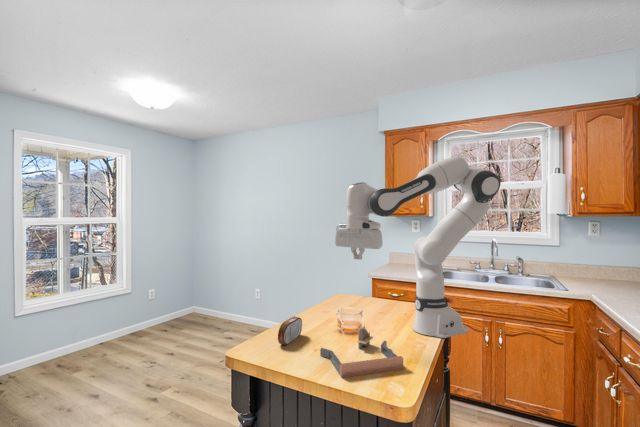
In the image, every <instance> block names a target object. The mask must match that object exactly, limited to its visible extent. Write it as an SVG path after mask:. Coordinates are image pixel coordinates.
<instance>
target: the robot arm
mask: <svg viewBox="0 0 640 427" xmlns="http://www.w3.org/2000/svg"><path fill="white" fill-rule="evenodd" d="M451 187H454V188H455V189H456V190H458V191H460V192H461V193H464V194H463V197H462V199H461V200H460V201H459V202H458V203H457V204H456V205H455V206H453V208H452V209H451V210H450V211H448V213H447V214H445V216H443V217H442V218H441V220H439V222H438V223H437V224H436V226H434V228H433V229H432V231H430V232H429V234H427V235H423V236H421V237H419V238H418V239H417V240H416V241H415V243H414V248H413V250H414V264H415V265H414V266H415V267H414V268H415V278H416V282H415V284H416V288H415V290H416V292H415V297H414V298H415V300H414V301H415V304H414V305H415V316H414V321H413V325H412V330H413V331H414V332H416V333H418V334H421V335H424V336H430V337H431V336H432V337H437V338H442V339H446V338H451V337H455V336H460V335H463V334H468V333H470V329H469V328H468V327H467V326H466V325H465V324H464V323H463V318H462V316H461V314H459V312H458V311H456V310H455V309H454V308H452V307H451V306H450V305H449V304H453V303H454V299H453V298H450V297H446V296H445V277H444V271H443V263H444V262H445V260H446V259H447V257H448V256H449V255H450V254H451V252H452V251H453V250H454V249H455V248H456V246H457V245H458V244H459V243H460V242H461V240H463V238H464V237H465V236H466V235H467V234H469V233H470V231H472V230H473V229H474V227H476V226H477V225H478V224H479V223H480V222H481V221H482V219H483V218H484V217H485V215H486V214H487V213H488V212H489V210H490V201H492V200H493V199H494V197H495V196H496V195H497V194H498V192H499V190H500V187H501V178H500V177H499V176H498V175H497V174H496V173H495V172H493V171H491V170H486V169H484V168H480V167H472V166H469V164H468V162H467V160H466V159H465V158H463V157H461V156H451V157H446V158H445V159H441V160H439V161H436V162H434V163H432V164H430V165H428V166H426V167H425V168H423V169H422V170H421V171H419V172H418V174H417V176H416V177H415V178H414V179H411V180H410V181H407V182H405V183H403V184H401V185H399V186H397V187H393V188H392V187H391V188H379V189H376V188H374V187H372V186H370V185H369V184H368V183H367V182H356V183H352V184H350V185H349V186H348V188H347V190H346V198H345V201H346V202H345V205H346V209H347V210H346V211H347V212H346V216H345V217H346V218H345V219H346V223H339V224H338V225H337V226H336V228H335V230H336V232H335V237H334V238H335V239H334V241H335V242H334V243H335V246H336V247H342V248H350V251H351V253H352V254H353V260H359V261H361V260H363V255H364V252H365V251H366V250H365V249H369V250H379V249H381V248H382V247H383V235H382V230H380V229H381V227H382V226H381V223H380V222H377V221H374V220H372V219H370V218H369V217H370V214H371V215H375V216H380V217H389V216H392V215H393V214H394V213H395V212H396V211H397V210H398V209H399V208H400V207H401V206H402V205H403V204H404V203H407V202H408V201H411V200H413V199H415V198H417V197H419V196H420V197H421V196H422V195H426V194H427V195H430V194H431V195H432V194H436V193H438V192H442V191H444V190H446V189H449V188H451ZM357 250H358V251H359V253H357Z"/></svg>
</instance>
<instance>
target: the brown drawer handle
mask: <svg viewBox="0 0 640 427" xmlns="http://www.w3.org/2000/svg"><path fill="white" fill-rule="evenodd" d="M387 345H388V341H387V340H383V341H382V343H381V345H380V353H381V354H383V356H384V357H383V358H376V359H368V360H360V361H351V362H343V363H342V362H341V360H340V359H339V358H338V356H337V355H336V354H335V352H334V351H333V350H330V349H328V348H324V347H321V348H320V349H319V350H320V353H319V354H320V357H322V358H326V359H329V361H330V363H331V364H332V365H333V367H334V369H335V370H336V372H337V373H338V375H339V377H340V378H341V379H342V378H343V379H344V378H350V377H357V376H365V375H371V374H379V373H386V372H393V371H399V370H404V357H402V356H401V355H399V356H398V355H397V354H396V353H395V352H394V351H392V350H391V349H390V348H389V347H388V346H387Z"/></svg>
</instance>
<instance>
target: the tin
mask: <svg viewBox="0 0 640 427" xmlns="http://www.w3.org/2000/svg"><path fill="white" fill-rule="evenodd" d="M302 330H303V320H302V318H301V317H298V316H295V315H294V316H292V317H290V318H288V319H286V320H284V321H283V322H282V323H281V325H280V327H279V329H278V332H277V341H278V342H277V343H278V344H280V345H284V346H288V345H289V344H291V343H292V342H294V341H296V340H297V339H298V338H299V337H300V335H301V333H302Z"/></svg>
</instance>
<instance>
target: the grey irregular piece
mask: <svg viewBox="0 0 640 427" xmlns="http://www.w3.org/2000/svg"><path fill="white" fill-rule="evenodd" d="M357 331H358V333H357V334H358V336H357V337H358V338H357V339H358V341H357V343H358V350H360V349H361V348H362V347H363V346H364V347H368V346H370V344H371V342H370V341H372V339H374V336H371V334H370V333H371V332H368V330H367V328H366V325H365V324H364V325H363V326H362V327H360V328H358V330H357Z"/></svg>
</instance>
